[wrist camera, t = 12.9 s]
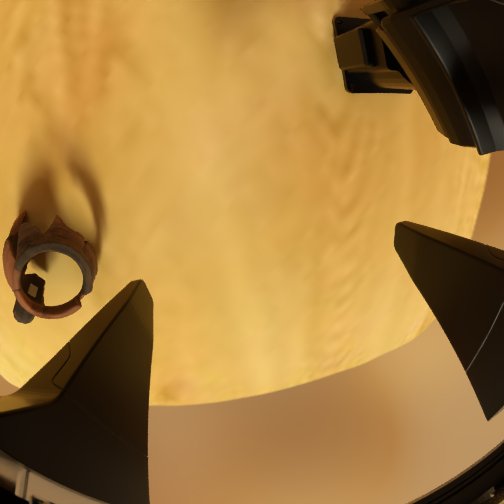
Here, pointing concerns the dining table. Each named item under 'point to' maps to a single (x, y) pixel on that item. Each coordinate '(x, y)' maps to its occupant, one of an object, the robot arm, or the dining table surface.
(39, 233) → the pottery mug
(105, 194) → the dining table surface
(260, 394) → the dining table surface
